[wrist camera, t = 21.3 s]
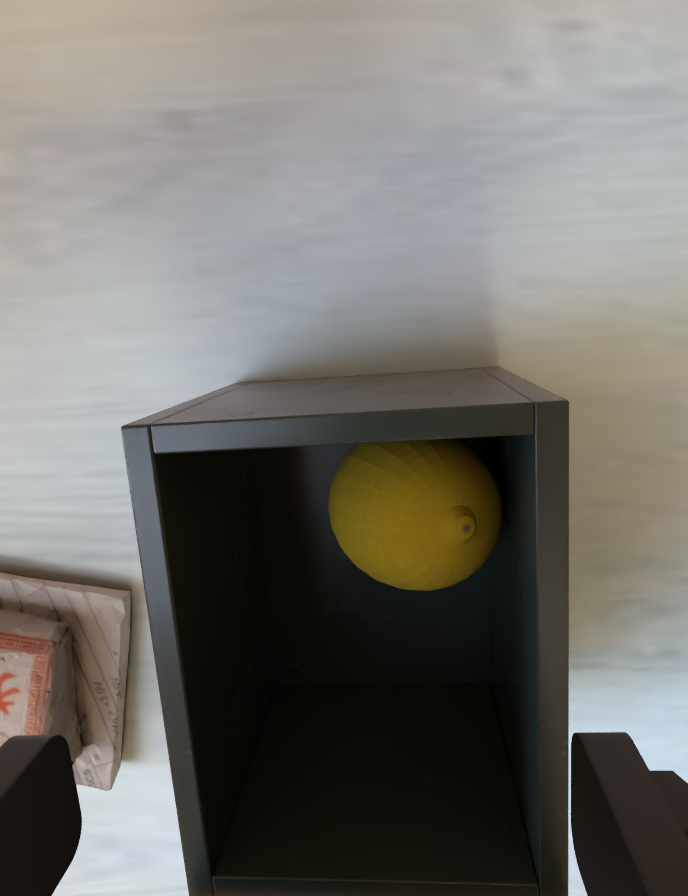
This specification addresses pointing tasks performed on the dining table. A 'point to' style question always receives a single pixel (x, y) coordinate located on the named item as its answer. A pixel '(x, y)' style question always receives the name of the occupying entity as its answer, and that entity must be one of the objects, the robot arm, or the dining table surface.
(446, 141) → the dining table surface
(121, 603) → the grey-brown angular block
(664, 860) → the robot arm
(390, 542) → the lemon
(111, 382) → the dining table surface
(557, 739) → the drawer box
